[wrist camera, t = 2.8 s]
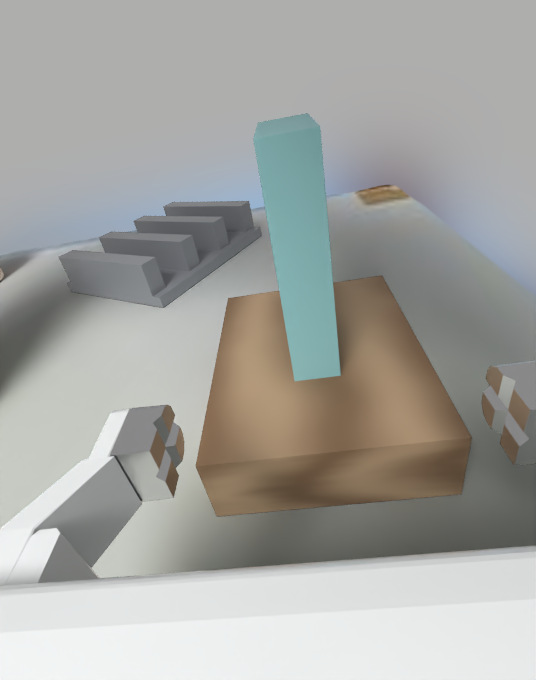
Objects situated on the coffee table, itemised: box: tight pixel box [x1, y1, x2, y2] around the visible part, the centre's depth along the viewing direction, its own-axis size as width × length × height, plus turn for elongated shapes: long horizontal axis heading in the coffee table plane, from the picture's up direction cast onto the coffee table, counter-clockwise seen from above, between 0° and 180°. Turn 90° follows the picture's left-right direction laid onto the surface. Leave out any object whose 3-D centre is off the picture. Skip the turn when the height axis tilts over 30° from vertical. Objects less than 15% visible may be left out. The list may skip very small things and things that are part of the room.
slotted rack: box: [59, 201, 262, 308], centre depth 50 cm, size 20×16×5 cm
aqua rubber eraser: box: [253, 113, 341, 381], centre depth 20 cm, size 2×6×12 cm, turn 179°
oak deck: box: [196, 276, 472, 516], centre depth 25 cm, size 12×16×4 cm
